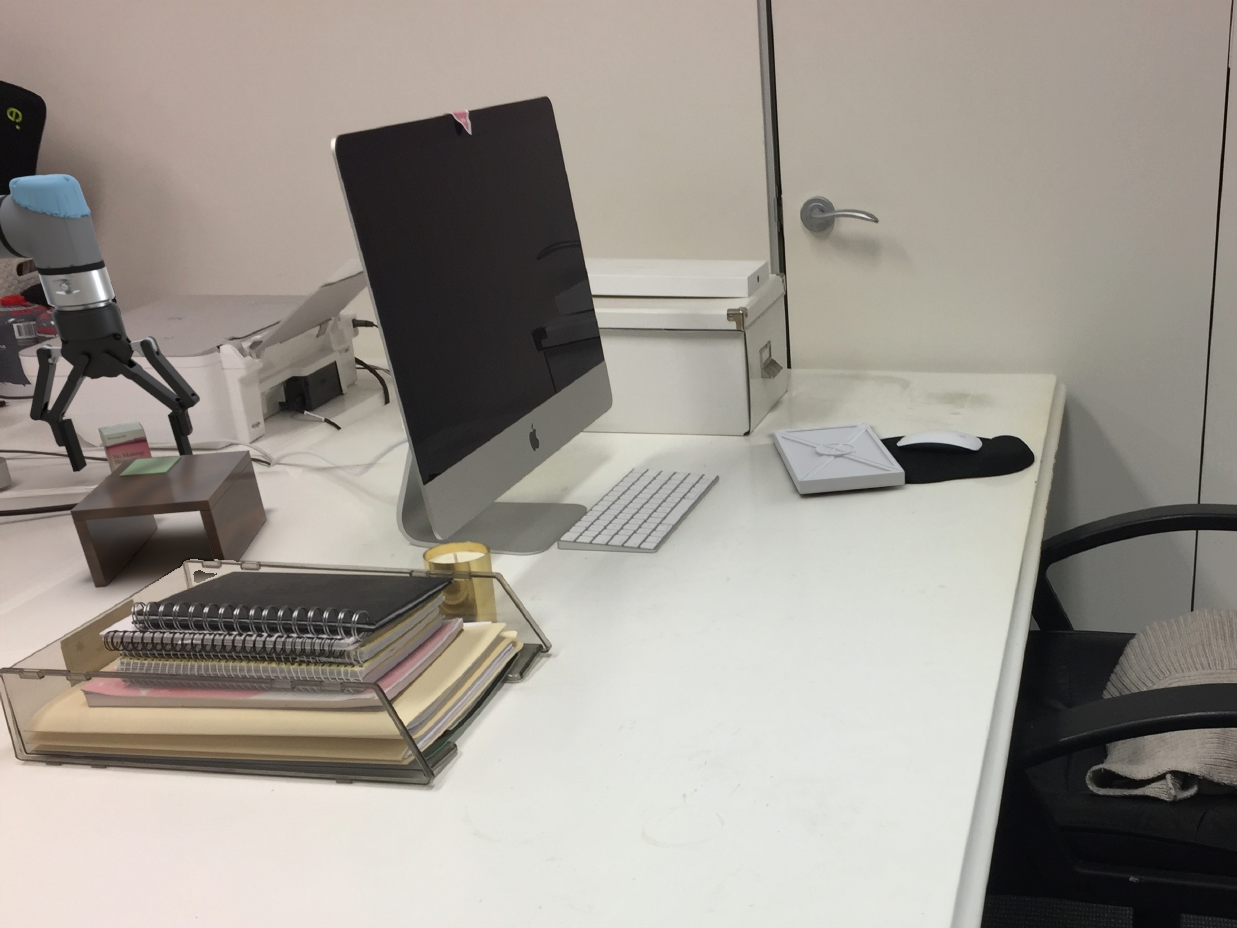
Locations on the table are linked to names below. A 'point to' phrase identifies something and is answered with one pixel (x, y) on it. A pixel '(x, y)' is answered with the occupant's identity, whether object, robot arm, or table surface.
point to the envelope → (837, 458)
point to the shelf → (169, 507)
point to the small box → (124, 443)
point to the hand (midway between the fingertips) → (134, 464)
